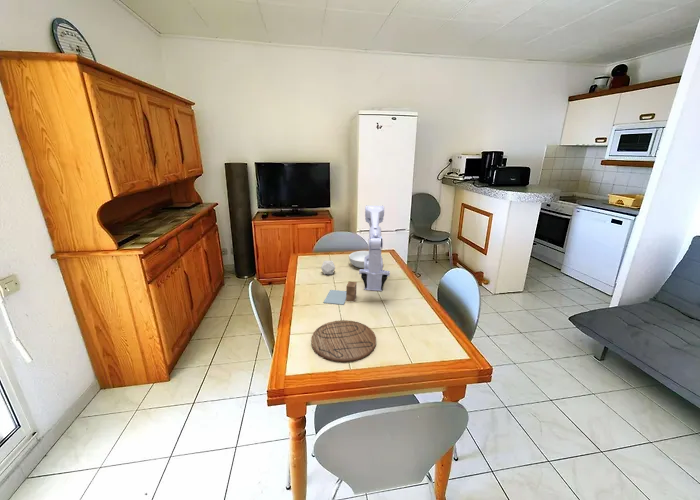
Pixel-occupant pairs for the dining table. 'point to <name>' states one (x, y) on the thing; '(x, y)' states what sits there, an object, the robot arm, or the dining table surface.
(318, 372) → the dining table surface
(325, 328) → the trivet
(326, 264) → the die
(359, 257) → the serving bowl
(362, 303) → the dining table surface
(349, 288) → the block
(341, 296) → the mat
